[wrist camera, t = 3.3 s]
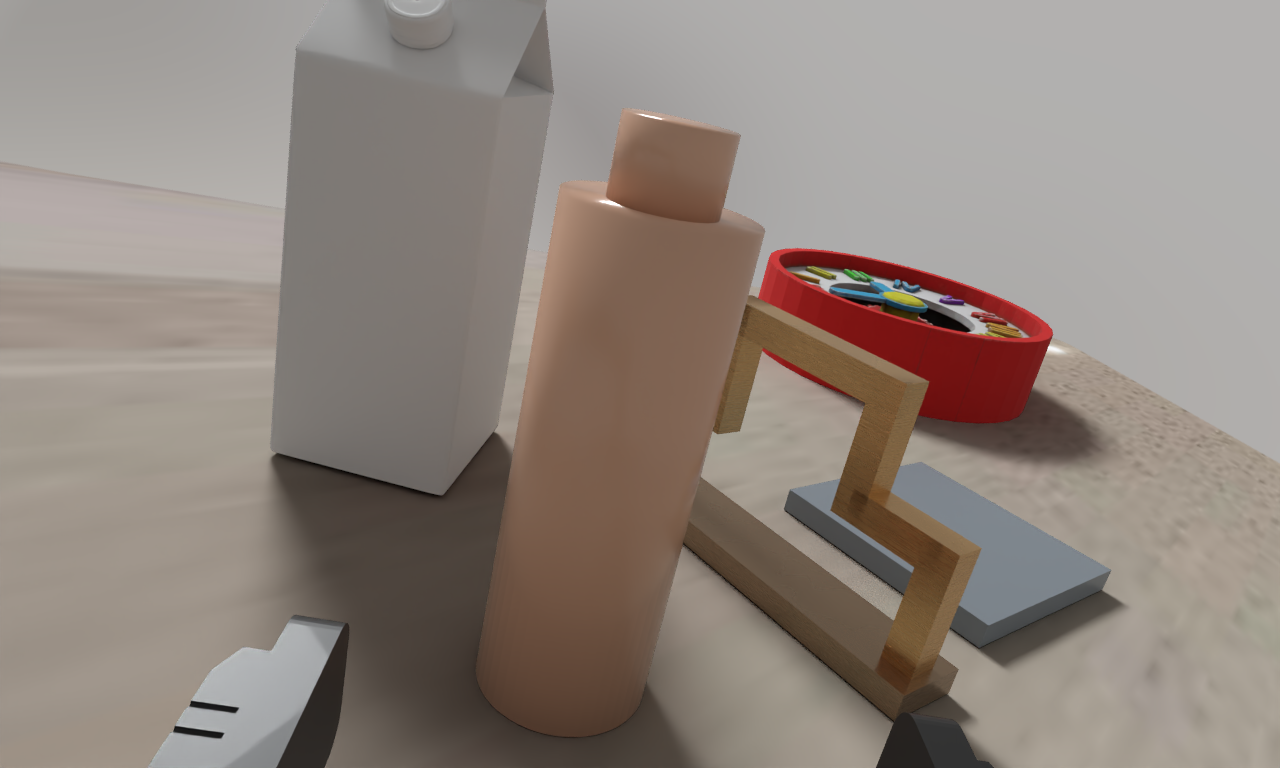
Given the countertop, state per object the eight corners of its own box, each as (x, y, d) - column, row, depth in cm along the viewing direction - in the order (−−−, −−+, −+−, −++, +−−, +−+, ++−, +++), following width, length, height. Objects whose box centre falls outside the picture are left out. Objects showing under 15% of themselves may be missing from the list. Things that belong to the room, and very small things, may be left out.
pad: (783, 509, 39) (789, 489, 38) (915, 479, 45) (921, 461, 44) (979, 647, 32) (988, 625, 31) (1102, 589, 38) (1111, 570, 38)
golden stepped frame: (602, 474, 38) (648, 262, 35) (655, 465, 40) (703, 264, 37) (894, 721, 27) (1004, 444, 23) (948, 693, 29) (1057, 433, 25)
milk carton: (350, 392, 40) (395, -54, 34) (497, 430, 40) (572, -15, 33) (268, 455, 34) (302, -87, 27) (443, 500, 33) (522, -38, 27)
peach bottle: (446, 642, 26) (533, 87, 20) (583, 605, 29) (693, 115, 23) (531, 761, 22) (665, 130, 17) (677, 704, 26) (831, 156, 20)
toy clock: (1119, 358, 56) (838, 316, 50) (1083, 440, 58) (810, 408, 52) (953, 271, 73) (733, 234, 68) (931, 336, 76) (715, 304, 70)
